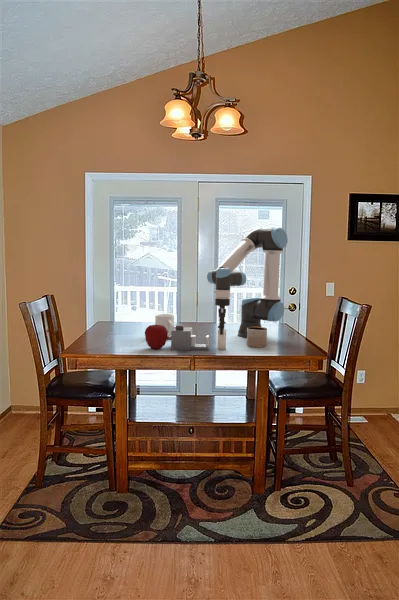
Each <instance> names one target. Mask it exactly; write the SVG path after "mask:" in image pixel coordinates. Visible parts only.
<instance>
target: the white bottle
mask: <svg viewBox="0 0 399 600" xmlns="http://www.w3.org/2000/svg"><path fill="white" fill-rule="evenodd" d="M226 349H227V329H224V341H219V329H217V350H221V351H225V350H226Z"/></svg>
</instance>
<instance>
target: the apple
mask: <svg viewBox="0 0 399 600" xmlns="http://www.w3.org/2000/svg"><path fill="white" fill-rule="evenodd" d="M144 330H145V331H144V336H145V337H144V338H145V341H146V344H147V346H148V347H149V348H150V349H152V350H158V349H159V350H160V349H162V348H163V347H164V346H165V345H166V342H167V341H168V340H167V335H168V331H167V329H166V328H165V327H164V326H163V325H155V324H151V325H148V326H147V327H145V329H144Z"/></svg>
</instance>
